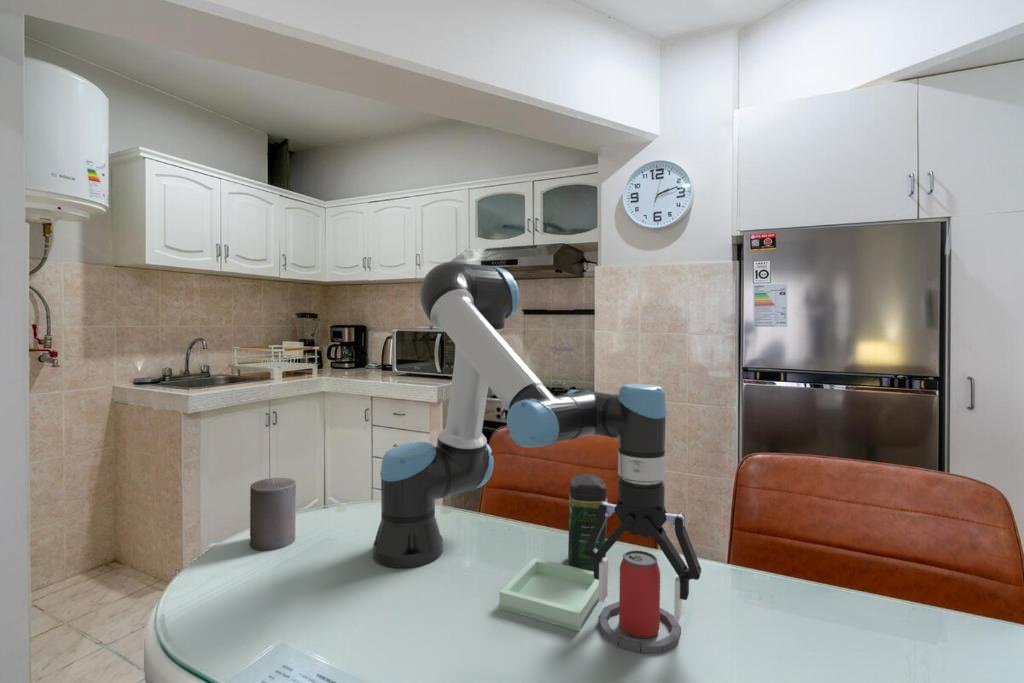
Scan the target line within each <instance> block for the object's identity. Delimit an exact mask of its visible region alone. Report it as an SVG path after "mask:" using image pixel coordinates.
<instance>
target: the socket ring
mask: <svg viewBox="0 0 1024 683" xmlns="http://www.w3.org/2000/svg"><path fill="white" fill-rule="evenodd" d="M615 614H619V601H616V602H614V603H611V604H608V605H605V606H604V607H603V608H602V610H601V612H600V614H599V615H598V620H597V623H598V626H599V628H600V632H601V634H602V636H603V637H605V638H606V639H607V640H609V641H611V643H613V644H614V645H616V646H617V647H619V648H620V649H625V650H629V651H632V652H635V653H639V654H656V653H658V654H659V653H661V654H662V653H665V652H667V651H668V650H671V649H673V648H675V647H677V646H678V645H679V643H680V639H681V635H682V626H681V625H680V623H679V622H678V621H674V614H672V613H670V612H668V611H666V610H665V609H663V608H662V607H660V620H662V621H663V622H665V623H666V624H667V626H668V628H669V630H670V632H669V635H668V636H665V637H663V638H661V639H659V640H651V641H639V640H636V639H633V638H629V637H626V636H623V635H621V634H620V633H619V632H617V631H616V630H614V629H613V628H611V625H610V624H609V621H610V618H611V616H614V615H615Z"/></svg>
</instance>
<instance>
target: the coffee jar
mask: <svg viewBox="0 0 1024 683" xmlns="http://www.w3.org/2000/svg"><path fill="white" fill-rule="evenodd" d="M607 490H608V489H607V484H606V483H605V481H604V479H602V478H600V477H599V476H598V475H596V474H589V473H588V474H587V473H586V474H585V473H579V474H577V475H575V476H573V477H572V478H571V480H570V481H569V490H568V491H569V492H568V493H569V494H568V496H569V497H568V498H569V501H568V503H569V504H568V507H569V508H568V543H567V544H568V545H567V546H568V550H567V552H568V553H567V554H568V555H567V556H568V558H567V560H568V566H571V567H576V568H580V569H584V570H589V571H593V572H594V561H593V559H592V558H591V557H589V556H585V555H584V554H583V550H584V548H585V546H586V543H587V541H588V539H589V537H590V534H591V532H592V530H593V528H594V525H595V523H596V521H597V519H598V510H599V505H600V504H601V503H602V502H603V501H605V500H607V501H608V494H607V493H608V491H607ZM607 521H608V520H607ZM607 521H606V523H605V525H604V527H603V529H602V532H601V534H600V536H599V538H598V541H597V543H596V545H595V547H594V548H596V549H598V550H599V549H600V547H601V546H602V545H603V544H604V543H605V541H606V540H607V530H608V529H607V526H608V524H607V523H608V522H607ZM606 556H607V553H606V554H605V555H604V556H603V558H604V557H605V558H607V557H606Z"/></svg>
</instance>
